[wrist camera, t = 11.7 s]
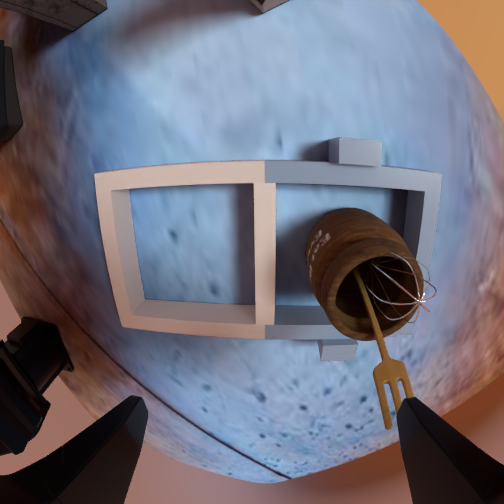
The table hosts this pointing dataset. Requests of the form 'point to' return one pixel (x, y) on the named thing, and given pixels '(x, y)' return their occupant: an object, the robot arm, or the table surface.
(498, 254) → the table surface
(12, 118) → the dark ridged block
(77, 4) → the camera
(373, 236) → the utensil holder
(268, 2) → the vintage mobile phone
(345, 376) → the table surface
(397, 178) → the beige grey rectangular frame
